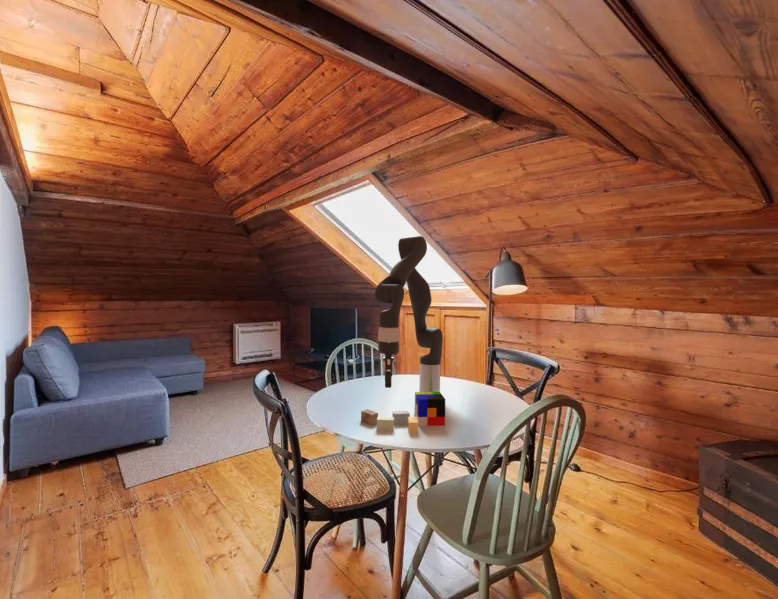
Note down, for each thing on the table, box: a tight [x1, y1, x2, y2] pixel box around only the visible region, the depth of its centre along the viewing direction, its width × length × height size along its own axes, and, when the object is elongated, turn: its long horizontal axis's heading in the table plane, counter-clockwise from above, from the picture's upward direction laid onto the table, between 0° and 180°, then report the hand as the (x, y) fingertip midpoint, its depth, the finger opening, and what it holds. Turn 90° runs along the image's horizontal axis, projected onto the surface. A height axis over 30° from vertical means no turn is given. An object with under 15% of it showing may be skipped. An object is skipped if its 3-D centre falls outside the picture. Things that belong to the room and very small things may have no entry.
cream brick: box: [376, 416, 395, 432], centre depth 143 cm, size 6×3×4 cm, turn 90°
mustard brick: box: [407, 416, 419, 434], centre depth 142 cm, size 6×3×4 cm, turn 1°
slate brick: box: [391, 410, 411, 425], centre depth 150 cm, size 6×3×4 cm, turn 101°
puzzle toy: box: [413, 391, 446, 427], centre depth 152 cm, size 10×10×10 cm
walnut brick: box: [360, 408, 379, 426], centre depth 150 cm, size 6×3×4 cm, turn 45°
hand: (387, 384), depth 142 cm, fingers open, 8 cm apart
